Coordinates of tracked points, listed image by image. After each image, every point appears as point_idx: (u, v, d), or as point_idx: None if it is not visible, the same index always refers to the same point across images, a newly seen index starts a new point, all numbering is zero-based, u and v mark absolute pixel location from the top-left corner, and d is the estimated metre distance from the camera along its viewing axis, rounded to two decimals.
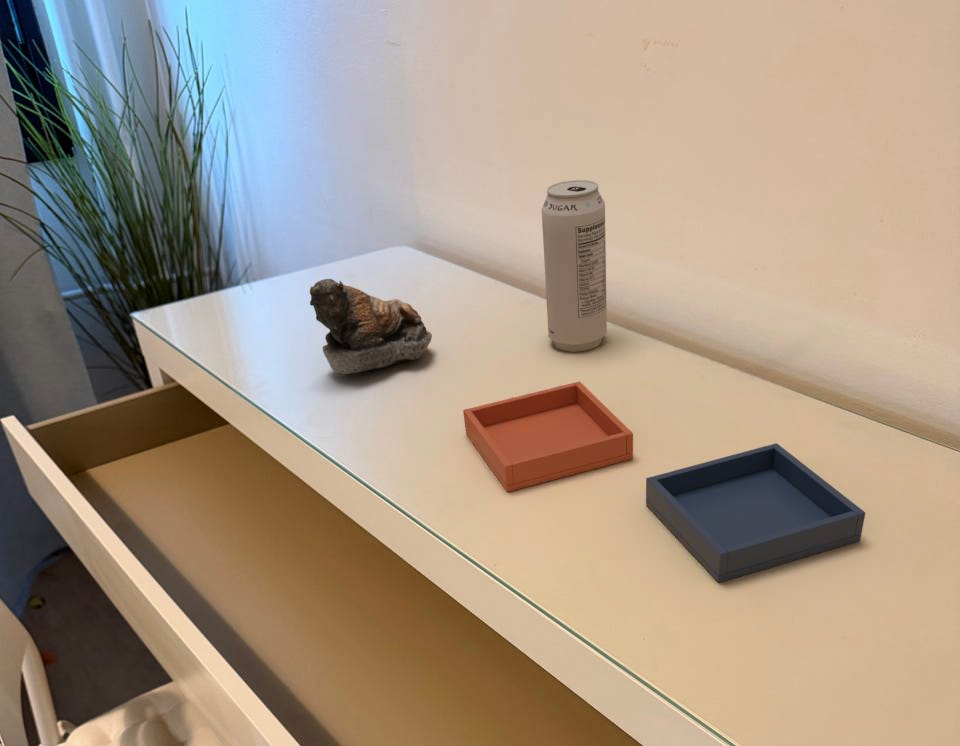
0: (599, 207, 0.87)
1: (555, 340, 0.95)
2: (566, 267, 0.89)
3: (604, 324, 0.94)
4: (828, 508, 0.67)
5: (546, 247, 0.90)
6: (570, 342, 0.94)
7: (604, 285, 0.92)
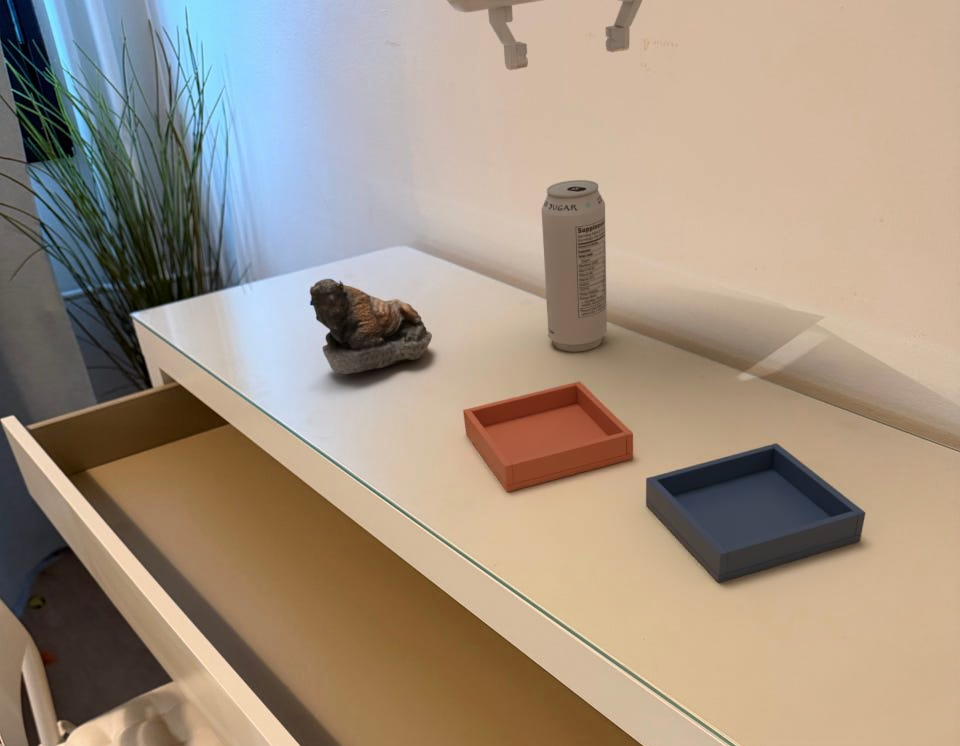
0: (599, 207, 0.87)
1: (555, 340, 0.95)
2: (566, 267, 0.89)
3: (604, 324, 0.94)
4: (828, 508, 0.67)
5: (546, 247, 0.90)
6: (570, 342, 0.94)
7: (604, 285, 0.92)
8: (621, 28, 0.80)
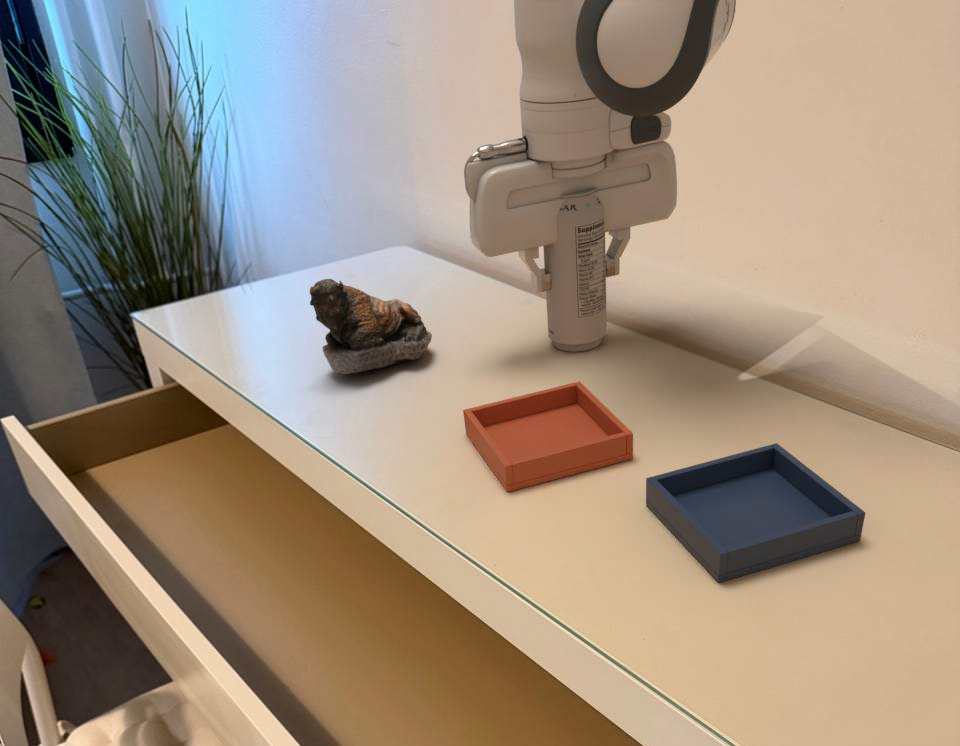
0: (599, 207, 0.87)
1: (555, 340, 0.95)
2: (566, 267, 0.89)
3: (604, 324, 0.94)
4: (828, 508, 0.67)
5: (546, 248, 0.90)
6: (570, 342, 0.94)
7: (604, 285, 0.92)
8: (612, 259, 0.92)
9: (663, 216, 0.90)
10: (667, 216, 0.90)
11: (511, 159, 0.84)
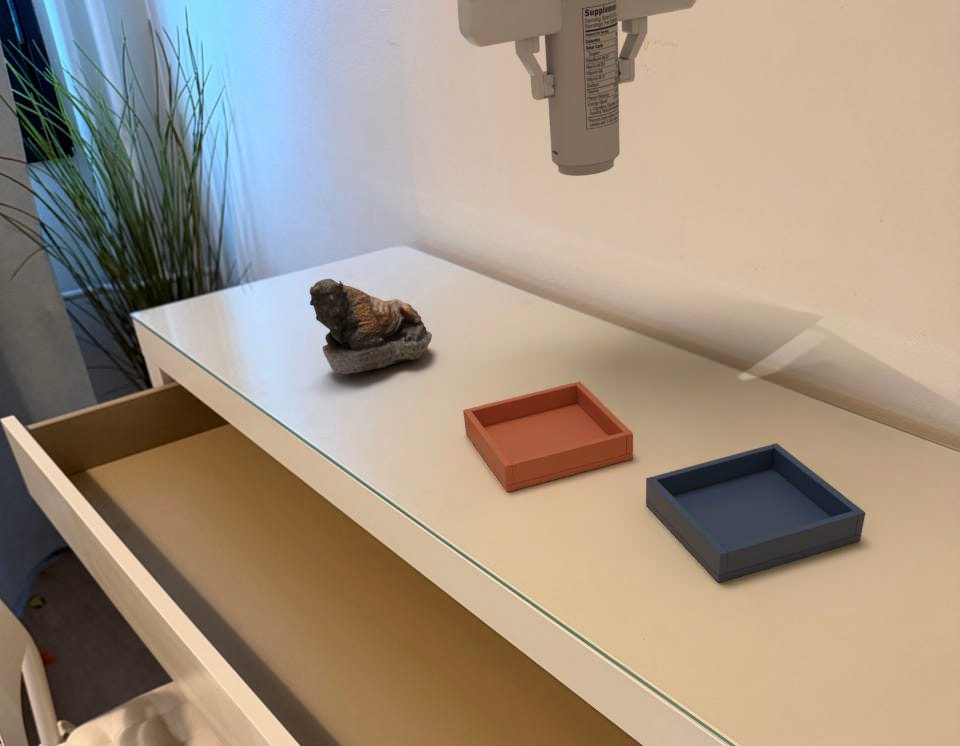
0: None
1: (559, 162, 0.81)
2: (572, 62, 0.76)
3: (616, 141, 0.81)
4: (828, 508, 0.67)
5: (548, 42, 0.76)
6: (577, 162, 0.81)
7: (616, 90, 0.78)
8: (626, 60, 0.78)
9: (686, 3, 0.76)
10: (691, 4, 0.76)
11: None
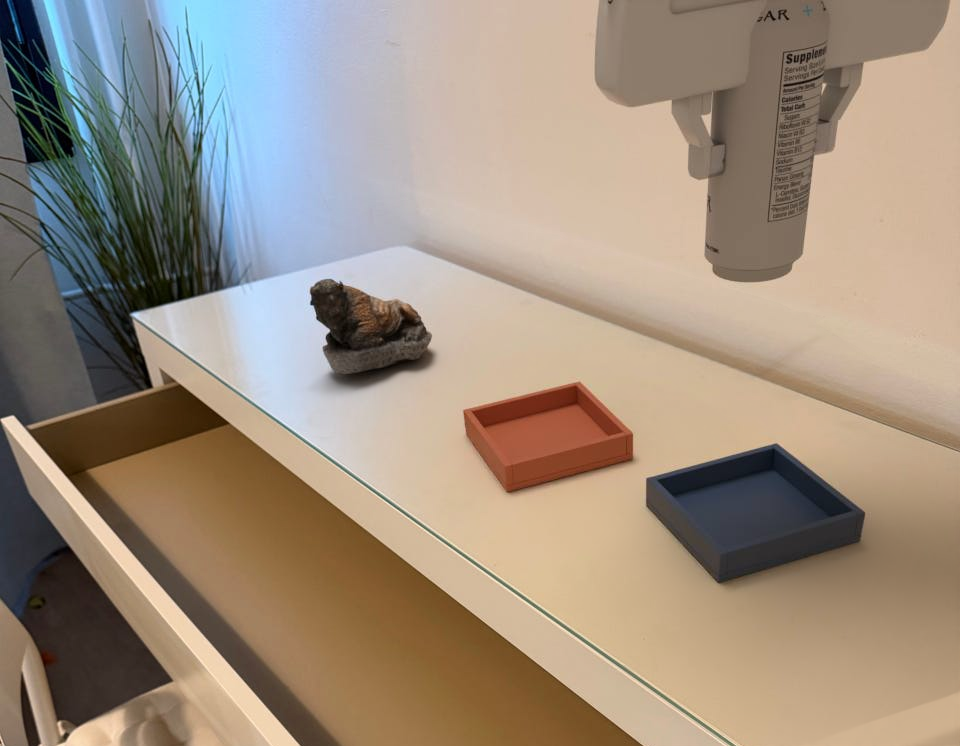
0: (825, 18, 0.49)
1: (720, 264, 0.58)
2: (758, 129, 0.52)
3: (803, 236, 0.57)
4: (828, 508, 0.67)
5: (721, 98, 0.52)
6: (748, 266, 0.57)
7: (812, 167, 0.55)
8: (826, 123, 0.54)
9: (921, 44, 0.52)
10: (927, 44, 0.53)
11: None
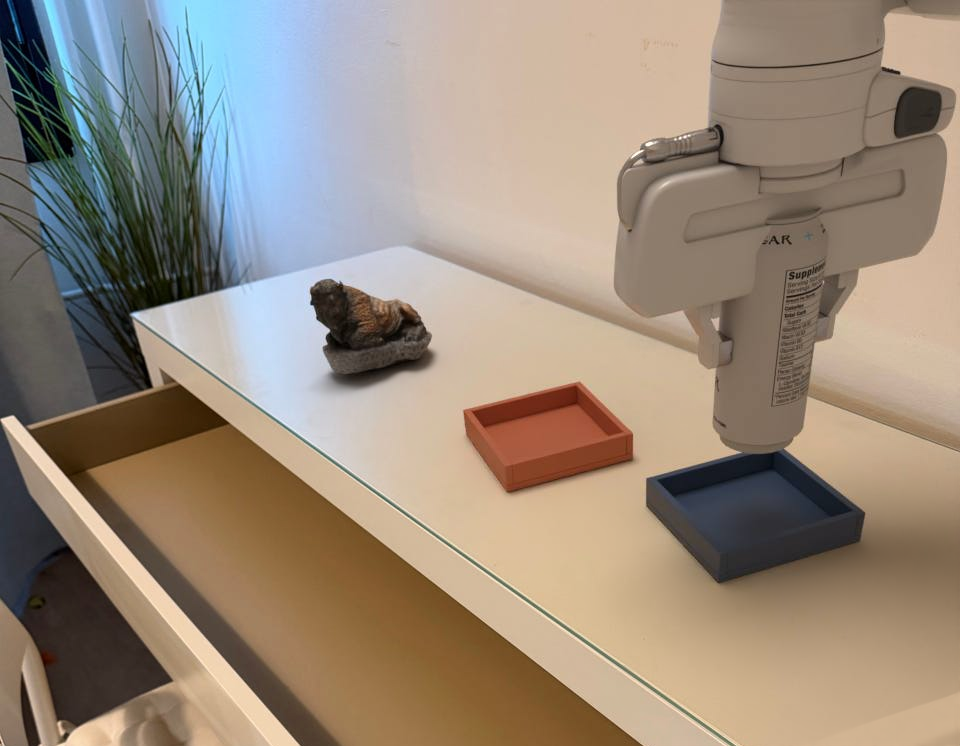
0: (824, 239, 0.54)
1: (727, 437, 0.62)
2: (763, 331, 0.57)
3: (804, 413, 0.62)
4: (828, 508, 0.67)
5: (729, 301, 0.57)
6: (753, 441, 0.61)
7: (812, 357, 0.59)
8: (825, 317, 0.59)
9: (912, 251, 0.57)
10: (917, 251, 0.57)
11: (694, 162, 0.51)
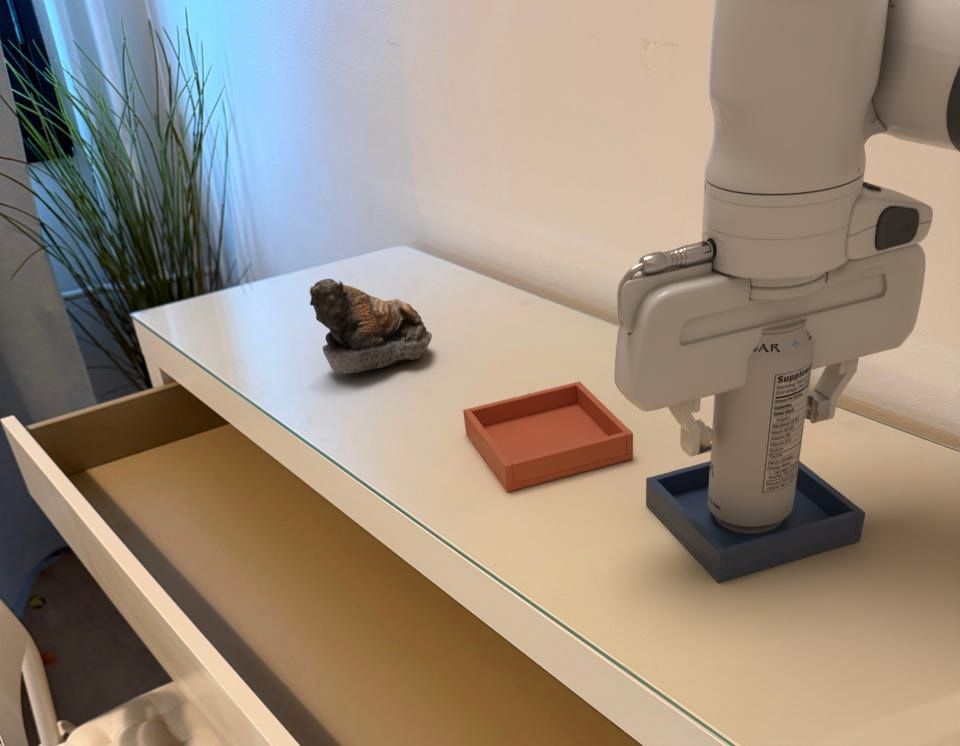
0: (810, 345, 0.58)
1: (721, 518, 0.67)
2: (754, 427, 0.61)
3: (793, 497, 0.66)
4: (828, 508, 0.67)
5: (722, 398, 0.61)
6: (745, 523, 0.66)
7: (800, 447, 0.64)
8: (827, 400, 0.63)
9: (894, 345, 0.61)
10: (899, 344, 0.61)
11: (689, 273, 0.55)
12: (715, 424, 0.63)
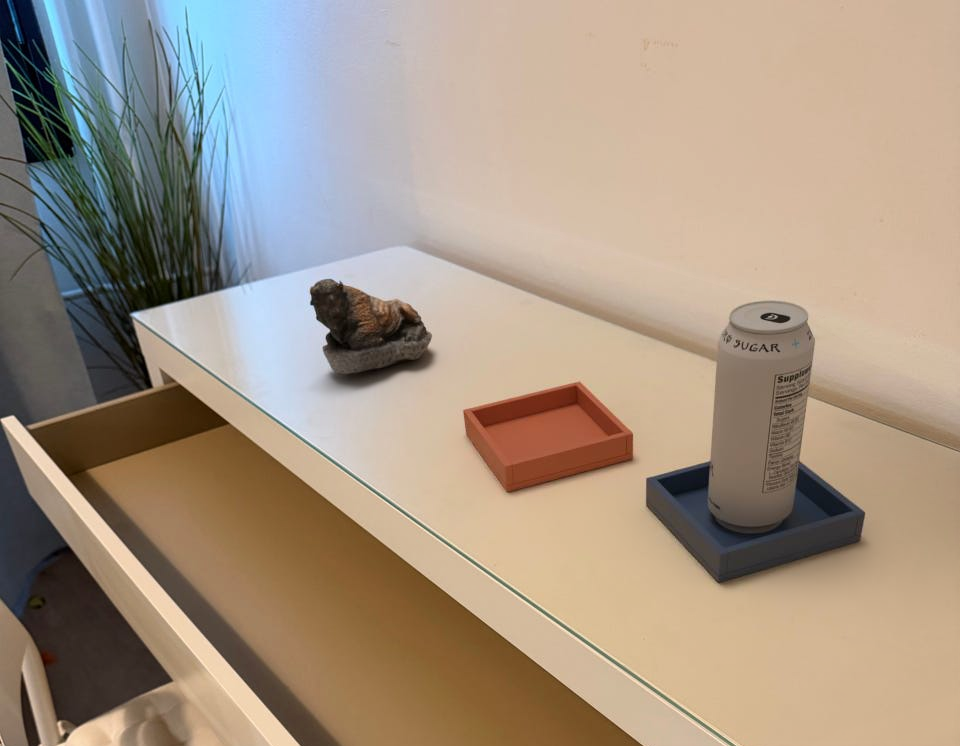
0: (810, 345, 0.58)
1: (721, 518, 0.67)
2: (754, 427, 0.61)
3: (793, 497, 0.66)
4: (828, 508, 0.67)
5: (722, 398, 0.61)
6: (745, 523, 0.66)
7: (800, 447, 0.64)
8: None
9: None
10: None
11: None
12: (715, 424, 0.63)
